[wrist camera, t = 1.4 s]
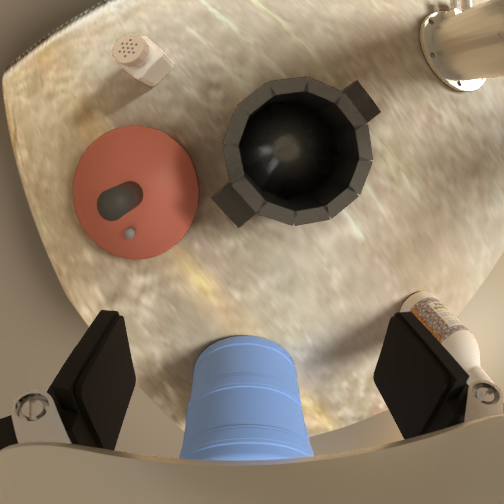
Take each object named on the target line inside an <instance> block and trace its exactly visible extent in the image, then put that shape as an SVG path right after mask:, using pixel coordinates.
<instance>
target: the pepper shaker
mask: <svg viewBox="0 0 504 504" xmlns="http://www.w3.org/2000/svg"><path fill="white" fill-rule="evenodd" d="M113 56H114V58H115V60H116V61H117V62H118V64H119V65H120V66H121V67H122V68H123V69H124V70H125V71H127V72H128V73H129V74H130V75H131V76H133V77H134V78H135V79H137V80H139V81H141V82H143V83H145V84H146V85H148V86H151V87H154V86H156V85H157V84H158V83H159V82H160V81H161V80H162V79H163V77H164V76H165V75H166V74H167V73H168V72H169V71H170V70H171V69H172V68H173V67H174V63H173V61H172V60H171V59H170V58H169V57H168V56H167V55H166V53H165V52H164V51H163V50H162V49H160V48H159V47H158V46H157V45H156V44H154V43H153V42H152V41H151V40H149V39H148V38H147V37H145V36H140V35H137V34H134V33H132V34H126V35H124V36H122V37H121V38H120V39H118V40H117V42H116V43H115V45H114V47H113Z"/></svg>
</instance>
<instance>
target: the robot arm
mask: <svg viewBox="0 0 504 504" xmlns="http://www.w3.org/2000/svg"><path fill="white" fill-rule="evenodd" d="M450 5H451V9H450V11H448V12H446V11H437V12H434V13H432V14H430V15H428V16H427V17H426V18H425V19H424V20H423V22H422V25H421V28H420V42H421V47H422V50H423V53H424V56H425V58H426V60H427V62H428V64H429V65H430V67H431V68H432V70H433V71H434V72H435V74H436V75H437V76H438V77H439V78H440V79H441V80H442V81H443V82H444V83H445V84H447V85H448V86H450V87H451V88H454V89H456V90H459V91H474V90H476V89H478V88H480V87H481V86H482V85H483V83H484V81H485V79H486V78H494V77H503V76H504V0H489V1H487V2H484V3H482V4H479V5H477V6H474V7H473V4H472V0H461V7H462V11H460V10H459V0H450ZM468 378H469V375H468V374H467V373H466V371H465V370H464V369H463V368H462V367H461V366H460V364H459V363H458V362H457V361H456V360H455V359H454V358H453V356H452V355H451V354H450V353H449V352H448V351H447V350H446V349H445V347H444V346H443V345H442V344H441V343H440V342H439V341H438V340H437V339H436V338H435V336H434V335H433V334H432V333H431V332H430V331H429V330H428V329H427V328H426V327H425V326H424V325H423V323H422V322H421V321H420V320H419V319H418V318H417V317H416V316H415V315H414V314H413V313H412V312H397V313H396V314H395V315H394V317H391V319H390V322H389V325H388V329H387V333H386V336H385V340H384V343H383V346H382V350H381V353H380V356H379V359H378V362H377V366H376V369H375V372H374V382H375V384H376V386H377V388H378V390H379V392H380V394H381V395H382V397H383V399H384V401H385V403H386V405H387V407H388V409H389V410H390V412H391V414H392V416H393V418H394V420H395V422H396V424H397V426H398V428H399V430H400V432H401V433H402V436H403V437H404V439H405V440H401V441H397V442H393V443H388V444H384V445H379V446H375V447H369V448H365V449H358V450H353V451H347V452H341V453H334V454H326V455H318V456H309V457H299V458H287V459H272V460H196V459H181V458H169V457H159V456H149V455H140V454H134V453H126V452H120V451H114V449H115V446H116V442H117V439H118V435H119V433H120V429H121V426H122V423H123V420H124V417H125V414H126V411H127V408H128V405H129V402H130V399H131V396H132V392H133V390H134V387H135V382H136V377H135V372H134V367H133V363H132V358H131V353H130V348H129V343H128V338H127V332H126V327H125V321H124V317H123V316H119V313H118V312H117V311H108V310H101V311H100V312H99V314H98V315H97V317H96V318H95V320H94V321H93V322H92V324H91V325H90V327H89V328H88V330H87V331H86V333H85V334H84V336H83V337H82V339H81V340H80V342H79V343H78V345H77V346H76V347H75V348H74V350H73V351H72V353H71V354H70V356H69V357H68V359H67V360H66V362H65V363H64V365H63V367H62V368H61V370H60V371H59V373H58V375H57V376H56V378H55V379H54V381H53V383H52V384H51V386H50V387H49V389H48V391H47V392H44V391H41V390H29V391H26V392H24V393H21V394H20V395H19V396H17V397H16V398H15V400H14V401H13V403H12V405H11V415H10V416H8V417H5V418H2V419H0V504H504V401H503V393H502V392H501V390H500V389H499V388H498V387H497V386H496V385H495V384H493V383H492V382H489V381H487V380H475V381H473V382H472V383H471V384H470V385H468V384H467V383H466V382H467V380H468Z"/></svg>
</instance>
